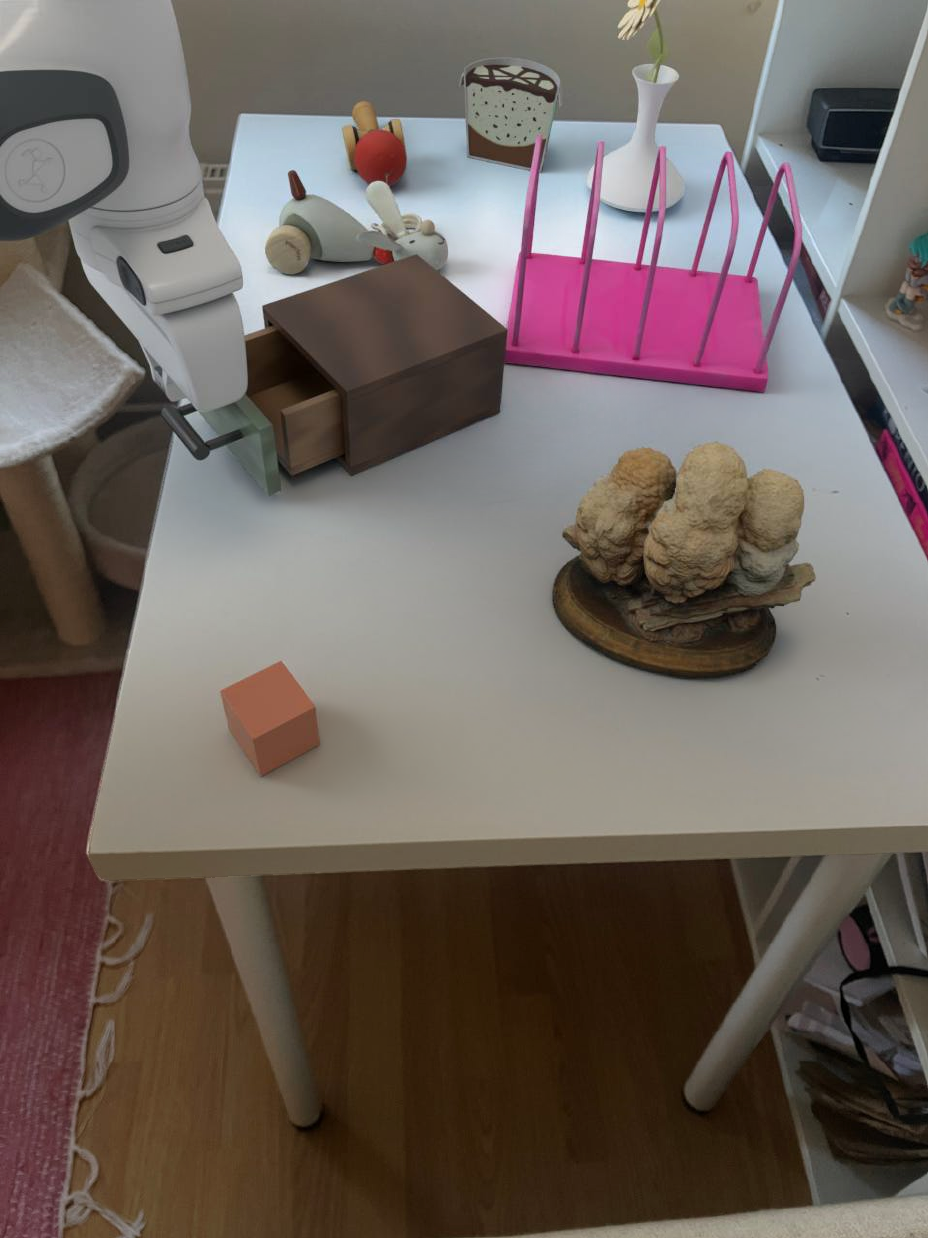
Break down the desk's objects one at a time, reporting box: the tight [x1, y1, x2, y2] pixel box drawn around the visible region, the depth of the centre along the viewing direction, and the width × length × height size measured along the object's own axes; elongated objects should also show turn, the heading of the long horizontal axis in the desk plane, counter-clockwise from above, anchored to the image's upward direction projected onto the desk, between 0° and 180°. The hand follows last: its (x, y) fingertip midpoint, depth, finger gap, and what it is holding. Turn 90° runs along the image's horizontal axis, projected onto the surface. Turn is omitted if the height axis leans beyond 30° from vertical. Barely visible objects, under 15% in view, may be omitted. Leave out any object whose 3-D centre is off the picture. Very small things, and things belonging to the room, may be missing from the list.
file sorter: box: [505, 134, 803, 393], centre depth 95 cm, size 17×25×16 cm
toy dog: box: [264, 169, 449, 275], centre depth 103 cm, size 12×19×9 cm, turn 104°
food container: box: [458, 57, 564, 174], centre depth 119 cm, size 12×6×10 cm, turn 71°
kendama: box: [341, 100, 408, 187], centre depth 119 cm, size 8×6×18 cm
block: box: [219, 660, 321, 777], centre depth 66 cm, size 4×4×4 cm
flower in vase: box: [586, 0, 685, 213], centre depth 108 cm, size 13×11×25 cm
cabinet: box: [261, 254, 508, 477], centre depth 88 cm, size 16×14×9 cm
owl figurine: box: [551, 441, 817, 679], centre depth 70 cm, size 18×12×17 cm, turn 75°
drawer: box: [160, 325, 345, 497], centre depth 84 cm, size 19×13×7 cm, turn 126°
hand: (172, 389), depth 77 cm, fingers closed
